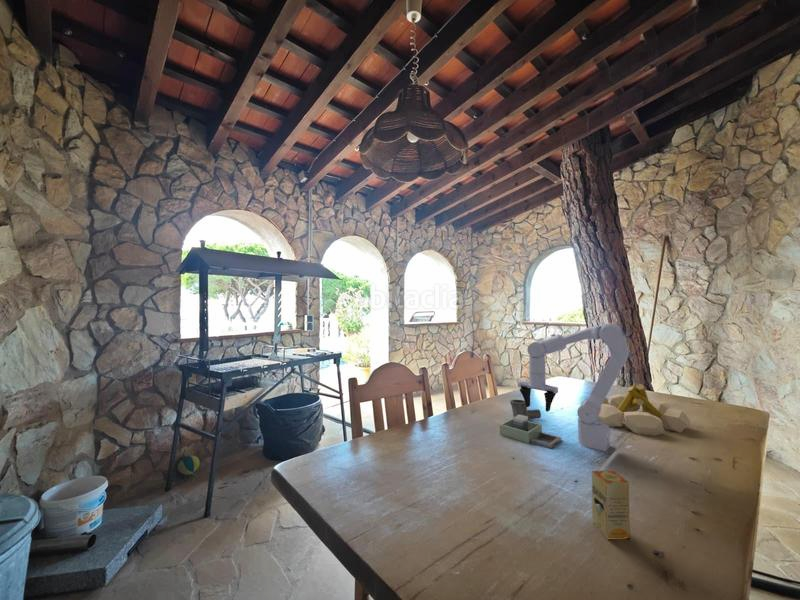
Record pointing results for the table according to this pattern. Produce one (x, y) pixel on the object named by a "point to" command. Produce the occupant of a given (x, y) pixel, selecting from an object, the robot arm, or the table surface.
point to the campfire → (641, 413)
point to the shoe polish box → (610, 504)
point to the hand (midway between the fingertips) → (537, 408)
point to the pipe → (524, 409)
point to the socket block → (546, 440)
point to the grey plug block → (521, 422)
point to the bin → (520, 431)
